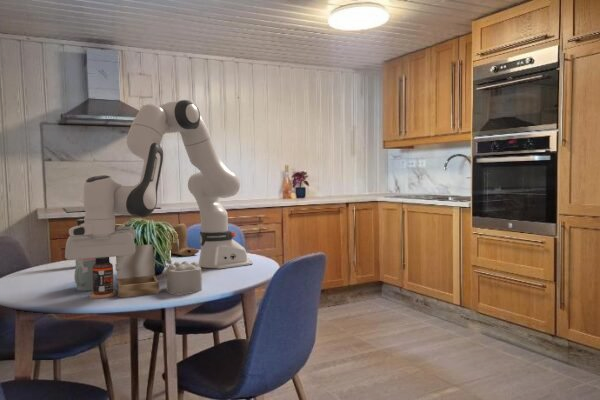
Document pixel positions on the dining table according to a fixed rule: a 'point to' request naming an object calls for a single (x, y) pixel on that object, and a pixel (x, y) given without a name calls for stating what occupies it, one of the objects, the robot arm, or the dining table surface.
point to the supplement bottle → (102, 276)
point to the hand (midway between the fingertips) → (102, 271)
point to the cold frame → (137, 273)
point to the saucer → (96, 296)
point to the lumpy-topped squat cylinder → (184, 278)
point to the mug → (84, 275)
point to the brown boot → (182, 242)
